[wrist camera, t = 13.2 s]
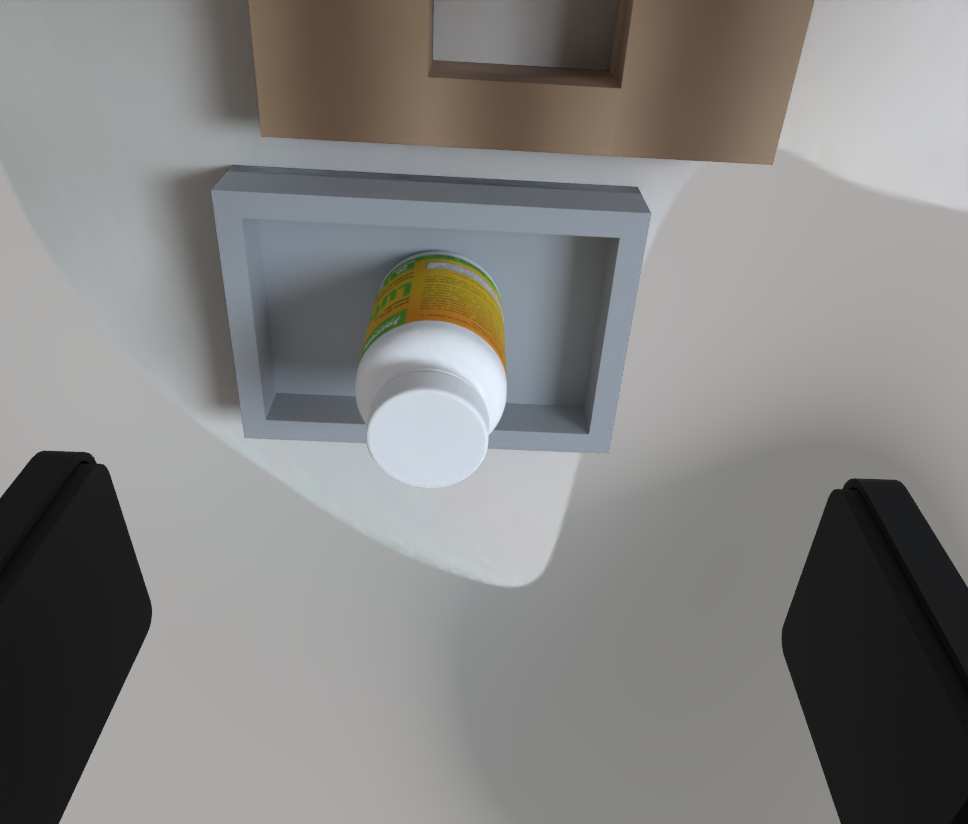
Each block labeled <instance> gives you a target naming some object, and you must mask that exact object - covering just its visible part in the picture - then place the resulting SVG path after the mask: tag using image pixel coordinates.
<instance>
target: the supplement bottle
mask: <svg viewBox="0 0 968 824" xmlns="http://www.w3.org/2000/svg"><path fill="white" fill-rule="evenodd" d="M355 395H356V402H357V406H358V409H359V412H360V414H361V416H362V418H363V420H364V422H365V423H366V425H367V429H366V441H367V446H368V450H369V452H370V455H371V456H372V458H373V460H374V461H375V463H376V464H377V465H378V466H379V468H381V469H382V470H383V471H384V472H385V473H386V474H387V475H389V476H390V477H392V478H393V479H395V480H397V481H399V482H402V483H404V484H407V485H410V486H415V487H421V488H437V487H444V486H448V485H452V484H455V483H457V482H459V481H461V480H463V479H465V478H466V477H468V476H469V475H471V474H472V473H473V472H474V471H475V470H476V469H477V468H478V466H479V465H480V464H481V462H482V461H483V459H484V457H485V454H486V452H487V448H488V439H489V434H490V433H491V432H492V431H493V430H494V428H495V427H496V426H497V424H498V422H499V421H500V418H501V416H502V414H503V411H504V408H505V403H506V397H507V374H506V358H505V339H504V317H503V306H502V300H501V296H500V293H499V290H498V288H497V286H496V284H495V282H494V281H493V279H492V278H491V276H490V275H489V274H488V273H487V272H486V271H485V270H484V269H483V268H482V267H481V266H479V265H478V264H477V263H475V262H474V261H472V260H470V259H468V258H466V257H464V256H461V255H459V254H455V253H451V252H443V251H430V252H423V253H419V254H416V255H413V256H411V257H408V258H406V259H405V260H403V261H401V262H400V263H398V264H397V265H396V266H395V267H394V268H393V269H391V271H390V272H389V273H388V274H387V275H386V276H385V278H384V280H383V281H382V283H381V285H380V287H379V289H378V292H377V295H376V298H375V302H374V306H373V310H372V314H371V318H370V321H369V325H368V329H367V333H366V338H365V342H364V346H363V350H362V354H361V358H360V362H359V366H358V370H357V376H356V383H355Z"/></svg>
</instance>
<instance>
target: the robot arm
mask: <svg viewBox="0 0 968 824" xmlns="http://www.w3.org/2000/svg"><path fill="white" fill-rule="evenodd" d="M151 617H152V606H151V601H150V598H149V595H148V592H147V589H146V586H145V583H144V579H143V576H142V573H141V570H140V567H139V564H138V561H137V558H136V554H135V551H134V548H133V545H132V542H131V539H130V536H129V533H128V530H127V526H126V523H125V520H124V517H123V514H122V511H121V508H120V504H119V501H118V499H117V495H116V492H115V489H114V486H113V483H112V480H111V476H110V474H109V471H108V469H107V467H105V465H103V464H97V463H96V461H95V459H94V457H92V455H91V454H90V453H86V452H64V451H41V452H39V453H37V454H36V455H35V456H34V457H33V458H32V459H31V460H30V461H29V463H28V464H27V465H26V466H25V468H24V469H23V470H22V471H21V473H20V474H19V475H18V476H17V478H16V479H15V480H14V482H13V483H12V484H11V485H10V487H9V488H8V489H7V490H6V492H5V493H4V494H3V495H2V497H1V498H0V824H59V822H60V820H61V817H62V815H63V813H64V811H65V809H66V807H67V805H68V802H69V800H70V798H71V796H72V794H73V792H74V790H75V787H76V785H77V783H78V781H79V779H80V777H81V775H82V772H83V770H84V768H85V766H86V764H87V762H88V760H89V757H90V755H91V753H92V751H93V749H94V747H95V745H96V742H97V740H98V738H99V736H100V734H101V732H102V729H103V727H104V725H105V723H106V721H107V719H108V717H109V715H110V712H111V710H112V708H113V706H114V703H115V702H116V699H117V697H118V695H119V693H120V691H121V688H122V687H123V684H124V682H125V680H126V678H127V676H128V674H129V671H130V669H131V667H132V665H133V663H134V661H135V659H136V656H137V654H138V652H139V650H140V648H141V646H142V644H143V642H144V639H145V637H146V635H147V633H148V630H149V627H150V624H151ZM782 648H783V653H784V657H785V660H786V663H787V666H788V668H789V672H790V674H791V677H792V680H793V683H794V686H795V689H796V692H797V695H798V698H799V701H800V704H801V707H802V710H803V713H804V716H805V719H806V722H807V725H808V728H809V730H810V733H811V737H812V739H813V742H814V745H815V748H816V751H817V754H818V757H819V760H820V763H821V766H822V769H823V772H824V775H825V778H826V781H827V784H828V787H829V790H830V793H831V796H832V799H833V801H834V804H835V807H836V810H837V813H838V816H839V819H840V822H841V824H968V587H967V586H966V584H965V582H964V581H963V579H962V578H961V576H960V574H959V573H958V571H957V570H956V568H955V566H954V565H953V563H952V561H951V560H950V558H949V556H948V555H947V553H946V552H945V550H944V548H943V547H942V545H941V544H940V542H939V541H938V539H937V537H936V535H935V534H934V532H933V531H932V530H931V528H930V526H929V524H928V523H927V521H926V520H925V518H924V516H923V514H922V513H921V512H920V510H919V508H918V506H917V505H916V503H915V502H914V500H913V498H912V497H911V495H910V493H909V492H908V490H907V489H906V487H905V486H904V485H903V484H902V483H901V482H899V481H897V480H883V479H881V480H880V479H850V480H848V481H847V482H846V483H845V485H844V487H843V489H836V490H833V491H832V492H831V494H830V496H829V498H828V501H827V504H826V506H825V509H824V512H823V515H822V518H821V520H820V524H819V526H818V529H817V532H816V535H815V537H814V540H813V543H812V546H811V549H810V551H809V555H808V557H807V560H806V563H805V566H804V568H803V571H802V574H801V577H800V580H799V583H798V585H797V588H796V591H795V594H794V597H793V600H792V602H791V605H790V608H789V611H788V614H787V616H786V619H785V622H784V625H783V629H782Z"/></svg>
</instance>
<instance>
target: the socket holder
mask: <svg viewBox="0 0 968 824" xmlns="http://www.w3.org/2000/svg"><path fill="white" fill-rule="evenodd" d="M813 4H814V0H619V2H618V9H617V17H616V24H615V32H614V39H613V47H612V54H611V62H610V69H609V71H606V70H589V69H572V68H555V67H538V66H521V65H504V64H487V63H470V62H453V61H436V60H433V9H434V0H248V5H249V15H250V26H251V36H252V46H253V57H254V67H255V77H256V87H257V98H258V108H259V118H260V129H261V136H262V137H280V138H298V139H316V140H334V141H352V142H370V143H388V144H406V145H424V146H442V147H460V148H478V149H496V150H514V151H532V152H550V153H568V154H586V155H604V156H622V157H640V158H658V159H676V160H694V161H712V162H730V163H731V162H732V163H748V164H766V165H772V164H773V161H774V157H775V153H776V149H777V145H778V141H779V137H780V134H781V130H782V126H783V122H784V118H785V114H786V110H787V106H788V102H789V98H790V94H791V90H792V86H793V82H794V79H795V75H796V71H797V67H798V63H799V59H800V55H801V51H802V47H803V43H804V39H805V35H806V31H807V27H808V24H809V20H810V16H811V12H812V8H813Z"/></svg>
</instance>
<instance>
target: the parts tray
mask: <svg viewBox="0 0 968 824" xmlns="http://www.w3.org/2000/svg"><path fill="white" fill-rule="evenodd" d="M211 195H212V202H213V210H214V217H215V224H216V232H217V239H218V246H219V254H220V261H221V268H222V276H223V283H224V290H225V298H226V305H227V312H228V320H229V327H230V334H231V342H232V349H233V357H234V364H235V371H236V379H237V386H238V393H239V401H240V408H241V415H242V423H243V430H244V437H245V438H257V439H280V440H303V441H326V442H349V443H367V441H366V429H367V425H366V423H365V422H364V420H363V418H362V416H361V414H360V412H359V409H358V406H357V402H356V395H355V383H356V376H357V370H358V366H359V362H360V358H361V354H362V350H363V346H364V342H365V338H366V333H367V329H368V325H369V321H370V318H371V314H372V310H373V306H374V302H375V298H376V295H377V292H378V289H379V287H380V285H381V283H382V281H383V280H384V278H385V276H386V275H387V274H388V273H389V272H390V271H391V269H393V268H394V267H395V266H396V265H397V264H398V263H400V262H401V261H403V260H405V259H406V258H408V257H411V256H413V255H416V254H419V253H423V252H430V251H443V252H451V253H455V254H459V255H461V256H464V257H466V258H468V259H470V260H472V261H474V262H475V263H477V264H478V265H479V266H481V267H482V268H483V269H484V270H485V271H486V272H487V273H488V274H489V275H490V276H491V278H492V279H493V281H494V282H495V284H496V286H497V288H498V290H499V293H500V296H501V300H502V306H503V317H504V339H505V358H506V374H507V397H506V403H505V408H504V411H503V414H502V416H501V418H500V421H499V422H498V424H497V426H496V427H495V428H494V430H493V431H492V432H491V433H490V434H489V439H488V448H487V449H510V450H533V451H556V452H579V453H604V454H609V449H610V443H611V437H612V431H613V426H614V420H615V415H616V409H617V403H618V398H619V392H620V386H621V381H622V375H623V370H624V364H625V358H626V352H627V347H628V340H629V336H630V330H631V324H632V319H633V313H634V306H635V302H636V296H637V290H638V284H639V279H640V273H641V268H642V262H643V256H644V251H645V245H646V239H647V234H648V228H649V222H650V217H651V212H650V210H649V208H648V206H647V204H646V202H645V200H644V198H643V196H642V194H641V192H640V191H639V189H638V187H626V186H607V185H589V184H570V183H552V182H533V181H515V180H497V179H478V178H460V177H441V176H423V175H405V174H386V173H368V172H349V171H331V170H313V169H294V168H276V167H257V166H239V165H232V166H231V167H230V169H229V170H228V171H227V172H226V173H225V174H224V175H223V177H222V178H221V179H220V180H219V181H218V182H217V183H216V185H215V186H214V187H213V188H212V189H211Z"/></svg>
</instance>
